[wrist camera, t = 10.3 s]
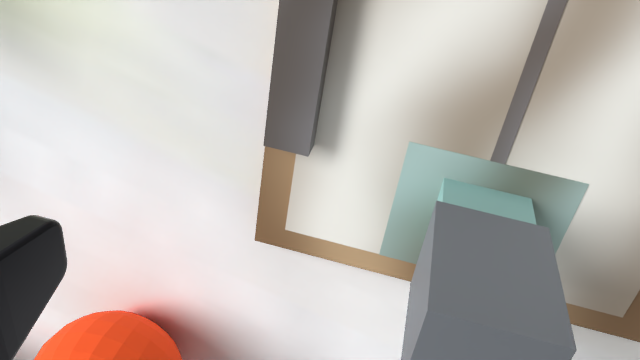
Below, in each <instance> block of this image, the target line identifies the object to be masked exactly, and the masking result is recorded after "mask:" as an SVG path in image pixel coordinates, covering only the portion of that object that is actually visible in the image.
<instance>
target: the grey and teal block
mask: <svg viewBox="0 0 640 360" xmlns="http://www.w3.org/2000/svg"><path fill="white" fill-rule="evenodd" d="M575 352H576V345H575V341H574V336H573V332H572V328H571V323H570V319H569V314H568V310H567V305H566V301H565V297H564V292H563V288H562V283H561V279H560V274H559V270H558V265H557V261H556V257H555V252H554V248H553V243H552V239H551V234H550V230H549V228H548V227H544V226H539V225H536V219H535V214H534V209H533V204H532V199H531V198H527V197H523V196H519V195H514V194H510V193H506V192H502V191H498V190H494V189H489V188H485V187H481V186H477V185H473V184H468V183H464V182H460V181H456V180H452V179H447V178H444V180H443V183H442V186H441V189H440V192H439V196H438V199H437V200H436V203H435V206H434V210H433V213H432V216H431V219H430V222H429V226H428V229H427V232H426V235H425V239H424V242H423V245H422V248H421V251H420V255H419V258H418V261H417V264H416V267H415V271H414V274H413V277H412V280H411V284H410V292H409V301H408V309H407V317H406V325H405V333H404V341H403V349H402V357H401V360H571V359H572V357H573V355H574V354H575Z"/></svg>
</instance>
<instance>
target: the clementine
mask: <svg viewBox="0 0 640 360" xmlns="http://www.w3.org/2000/svg"><path fill="white" fill-rule="evenodd" d="M34 360H182V358H181V355H180V352H179V350H178V348H177V346H176V344H175V342H174V341H173V339H172V338H171V337H170V336H169V335H168V333H167V332H165V331H164V330H163V329H162V328H161V327H160V326H158V325H157V324H156V323H154V322H152V321H151V320H149V319H147V318H145V317H143V316H140V315H137V314H135V313H131V312H126V311H105V312H97V313H93V314H90V315H87V316H83V317H81V318H79V319H77V320H75V321H73V322H71V323H69V324H67V325H66V326H64V327H63V328H62V329H61V330H60V331H58V332H57V333H56V334H55V335H54V336H53V337H52V338H51V339H49V340H48V341H47V342H46V343H45V344H44V345H43V346H42V348H41V349H40V351H39V353H38V354H37V356H36V357H35V359H34Z"/></svg>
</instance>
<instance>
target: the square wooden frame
mask: <svg viewBox="0 0 640 360" xmlns="http://www.w3.org/2000/svg"><path fill="white" fill-rule="evenodd" d="M264 146H265V152H264V161H263V170H262V179H261V188H260V197H259V206H258V215H257V224H256V233H255V241H259V242H263V243H267V244H271V245H274V246H278V247H282V248H286V249H290V250H293V251H297V252H301V253H305V254H308V255H312V256H316V257H320V258H324V259H327V260H331V261H335V262H339V263H343V264H346V265H350V266H354V267H358V268H361V269H365V270H369V271H373V272H377V273H380V274H384V275H388V276H392V277H395V278H399V279H403V280H407V281H411V280H412V277H413V274H414V271H415V267H416V264H417V261H418V258H419V255H420V251H421V248H422V245H423V242H424V239H425V235H426V232H427V229H428V226H429V222H430V219H431V216H432V213H433V210H434V206H435V203H436V200H437V199H438V196H439V192H440V189H441V186H442V183H443V180H444V178H447V179H452V180H456V181H460V182H464V183H468V184H473V185H477V186H481V187H485V188H489V189H494V190H498V191H502V192H506V193H510V194H514V195H519V196H523V197H527V198H531V199H532V204H533V209H534V214H535V219H536V225H539V226H544V227H548V228H549V230H550V234H551V239H552V243H553V248H554V252H555V257H556V261H557V265H558V270H559V274H560V279H561V283H562V288H563V292H564V297H565V301H566V305H567V310H568V314H569V319H570V323H571V324H573V325H577V326H581V327H585V328H589V329H592V330H596V331H600V332H604V333H607V334H611V335H615V336H619V337H623V338H626V339H630V340H634V341H638V342H640V0H279V9H278V19H277V28H276V37H275V46H274V55H273V64H272V73H271V83H270V92H269V101H268V110H267V119H266V128H265V137H264Z"/></svg>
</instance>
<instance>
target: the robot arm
mask: <svg viewBox="0 0 640 360" xmlns="http://www.w3.org/2000/svg"><path fill="white" fill-rule="evenodd" d="M66 268H67V257H66V250H65V244H64V238H63V232H62V227H61V225H60V224H59V222H57V221H56V220H52V219H49V218H45V217H41V216H37V215H30V216H27V217H24V218H21V219H18V220H15V221H13V222H10V223H7V224H4V225H1V226H0V360H12V359H13V358H14V356H15V355H16V353H17V352H18V350H19V349H20V347H21V345H22V344H23V342H24V340H25V339H26V337H27V336H28V334H29V332H30V331H31V329H32V327H33V326H34V324H35V323H36V321H37V319H38V318H39V316H40V314H41V313H42V311H43V310H44V308H45V306H46V305H47V303H48V301H49V300H50V298H51V297H52V295H53V293H54V292H55V290H56V288H57V287H58V285H59V284H60V282H61V280H62V279H63V277H64V274H65V272H66Z"/></svg>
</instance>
